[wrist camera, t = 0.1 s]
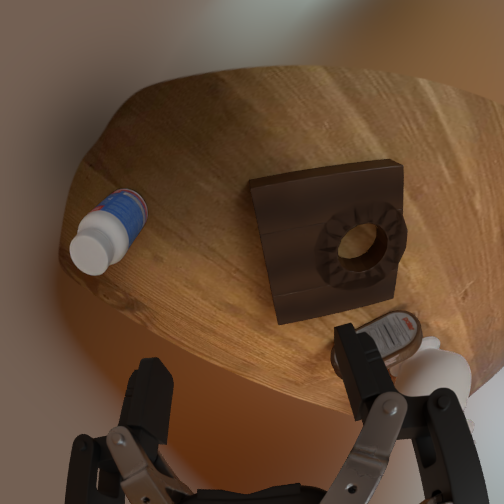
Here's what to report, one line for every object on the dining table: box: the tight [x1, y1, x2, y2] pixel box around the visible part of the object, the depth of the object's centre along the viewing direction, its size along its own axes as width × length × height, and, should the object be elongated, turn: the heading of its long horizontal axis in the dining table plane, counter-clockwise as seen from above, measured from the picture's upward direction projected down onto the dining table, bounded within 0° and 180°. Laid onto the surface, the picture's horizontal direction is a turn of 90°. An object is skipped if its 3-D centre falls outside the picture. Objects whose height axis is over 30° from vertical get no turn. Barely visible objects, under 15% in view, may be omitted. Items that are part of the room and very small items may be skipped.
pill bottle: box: [70, 189, 148, 275], centre depth 24 cm, size 6×5×10 cm
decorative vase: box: [389, 336, 476, 444], centre depth 36 cm, size 18×18×25 cm
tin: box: [331, 311, 423, 379], centre depth 36 cm, size 15×3×8 cm, turn 119°
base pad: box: [249, 159, 408, 325], centre depth 30 cm, size 18×17×3 cm
